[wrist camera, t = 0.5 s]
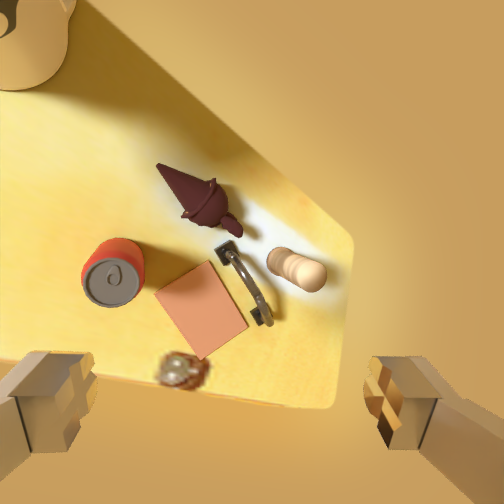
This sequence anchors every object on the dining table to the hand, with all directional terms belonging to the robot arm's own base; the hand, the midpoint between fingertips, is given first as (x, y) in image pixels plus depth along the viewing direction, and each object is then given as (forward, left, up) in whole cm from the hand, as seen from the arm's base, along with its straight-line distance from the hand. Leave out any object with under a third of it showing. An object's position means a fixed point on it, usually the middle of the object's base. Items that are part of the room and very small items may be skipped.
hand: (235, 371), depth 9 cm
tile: (+15, -1, -38) cm, 41 cm away
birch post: (+15, +14, -38) cm, 43 cm away
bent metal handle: (+15, +7, -38) cm, 41 cm away
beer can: (+1, -7, -38) cm, 39 cm away
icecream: (-1, +7, -38) cm, 39 cm away
